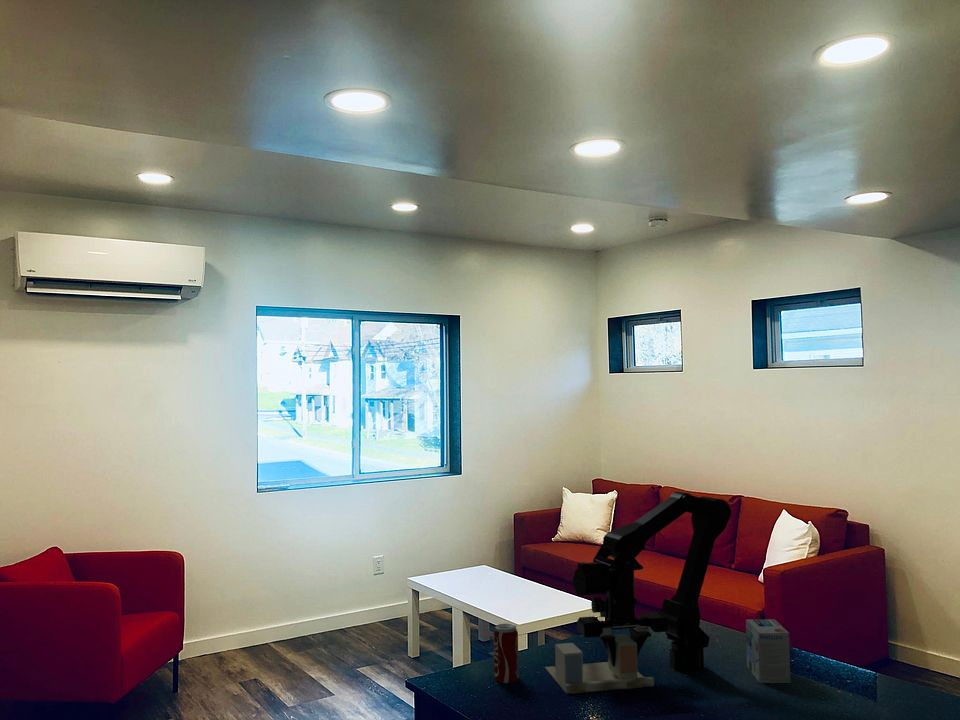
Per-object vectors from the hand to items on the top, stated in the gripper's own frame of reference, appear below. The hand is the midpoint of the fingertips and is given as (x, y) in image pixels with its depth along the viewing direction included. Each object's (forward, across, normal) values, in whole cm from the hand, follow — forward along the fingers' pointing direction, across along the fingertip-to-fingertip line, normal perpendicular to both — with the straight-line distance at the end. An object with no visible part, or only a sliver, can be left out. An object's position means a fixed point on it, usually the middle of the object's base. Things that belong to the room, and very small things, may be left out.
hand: (622, 665), depth 164 cm
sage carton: (+2, 0, 0) cm, 2 cm away
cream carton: (+3, +12, 0) cm, 12 cm away
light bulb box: (+4, -32, +3) cm, 33 cm away
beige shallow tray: (+4, +5, -2) cm, 7 cm away
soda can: (+4, +24, -5) cm, 25 cm away
